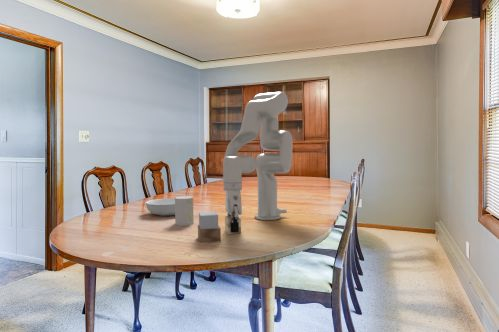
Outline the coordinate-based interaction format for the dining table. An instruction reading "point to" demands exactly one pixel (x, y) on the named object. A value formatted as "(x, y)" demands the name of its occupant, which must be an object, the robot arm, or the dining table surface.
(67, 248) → the dining table surface
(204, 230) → the walnut block
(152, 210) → the serving bowl
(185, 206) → the cup
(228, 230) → the maple cube
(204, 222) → the grey block
